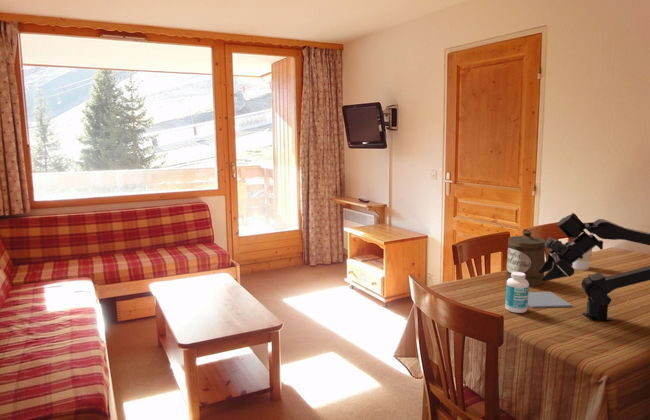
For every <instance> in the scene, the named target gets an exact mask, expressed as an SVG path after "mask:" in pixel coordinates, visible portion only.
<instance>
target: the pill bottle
mask: <svg viewBox="0 0 650 420" xmlns="http://www.w3.org/2000/svg"><path fill="white" fill-rule="evenodd" d="M525 276H526V275H525V273H522V272H512V273H511V277H512V278H509V279H508V280H507V279H506V287H505V302H504V303H505V304H504V308H505V309H506V310H507V311H509V312H512V313H515V314H521V313H522V314H523V313H526V312H527V311H528V307H529V305H528V292H530V291H529V289H530V286H529V282H528V281H527V280H525Z"/></svg>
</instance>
